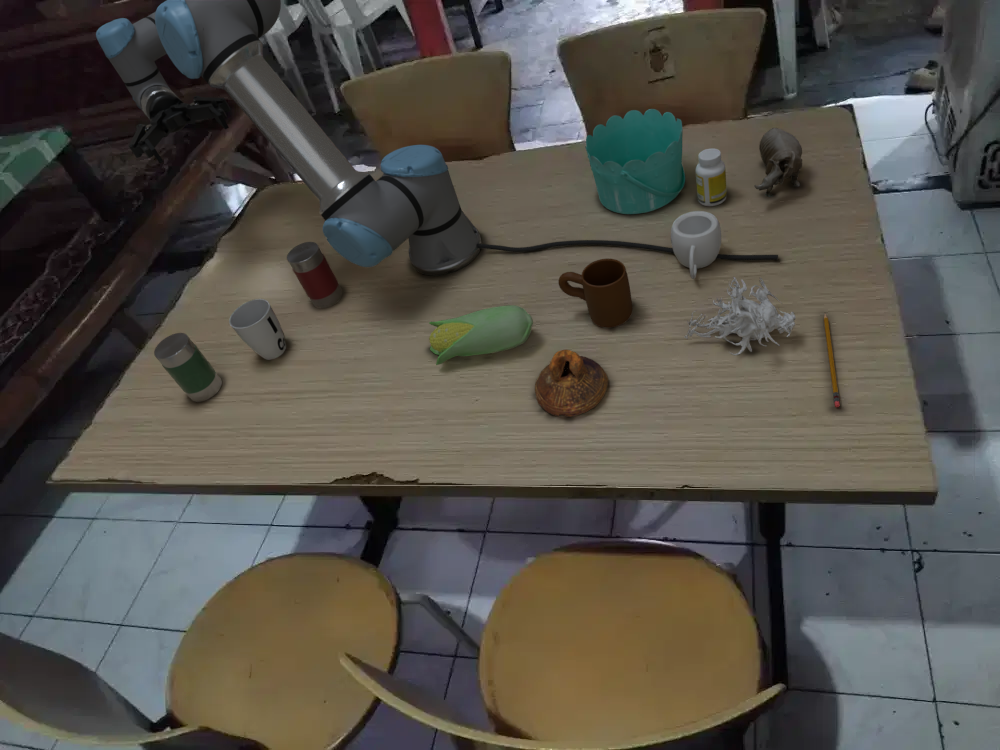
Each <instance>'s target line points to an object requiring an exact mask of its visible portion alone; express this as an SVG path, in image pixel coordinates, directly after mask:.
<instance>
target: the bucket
mask: <svg viewBox="0 0 1000 750" xmlns="http://www.w3.org/2000/svg"><path fill="white" fill-rule="evenodd" d="M683 131H684V129H683V121H682V119H681V118H678V117H677V118H676V116H675V115H674V114H673V113H672V112H670V111H666V112H664V113H663V114H661V112H660V111H659V110H658V109H656V108H648V109H647V110H646V111H645V112H644V114H643V113H642V112H641V111H639V110H637V109H632V110H629V111H627V112H626V113H625V114H624V117H622V116H620V115H616V114H615V115H614V114H613V115H611V116H610V117H609V118H608V120H607V121H606V124H605V125H604V124H603V123H602V124H601V123H599V124H597V125H596V126H595V127H594V128H593V131H592V134H587V136H586V137H585V147H584V148H585V151H586V155H587V158H588V162H589V165H590V170H591V172H592V175H593V176H592V177H593V180H594V183H595V188H596V191H597V194H598V198H599V202H600V204H601V205H602V206H603V207H604V208H606V209H607V210H609V211H611V212H614V213H618V214H622V215H638V214H639V215H640V214H646V213H649V212H652V211H655V210H658V209H660V208H662V207H664V206H667V205H668V204H670V203H671V202H672V201H674V199H676V198H677V197H678V195H679V194H680V192H681V191H682V190H683V189H684V187H685V184H686V174H685V169H684V165H683V135H684V134H683Z"/></svg>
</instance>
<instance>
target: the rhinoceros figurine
mask: <svg viewBox="0 0 1000 750" xmlns="http://www.w3.org/2000/svg"><path fill="white" fill-rule="evenodd" d="M758 145H759V146H758V148H759V153H760V157H761V160H762V162H763V164H764V166H765V173H764V174H765V175H766V176H764V178H763V180H762V181H761V183H760V184H759V185H756V184H755V185H754V188H755V189H756V190H758V191H759V192H760V191H766V192H765V193H766V194H765V193H764V196H766V197H768V198H772V197H774V194H773V193H772V191H773V189H774V186H776V185H778V184H780V185H781V186H782V185H783V183H784V182H785V179H788V178H790V184H793V185H792V187H801V183H800V182H799V180H798V178H799V175H800V170H802V169H803V159H802V154H803V148H802V145H801V143H800V141H799V140H798V138H797V137H796V135H795V136H794V134H792V133H790V132H788V131H786V130H784V129H782V128H779V127H771V128H770V129H769V130H767V131H765V133H764V134H763V136H762V137H761V138H760V141H759V144H758Z"/></svg>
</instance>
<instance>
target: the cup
mask: <svg viewBox="0 0 1000 750" xmlns="http://www.w3.org/2000/svg"><path fill="white" fill-rule="evenodd" d="M228 323H229V326H230V327H231V328H232V329H233V331H234V332H235V333H236V334H237V335H238V337H239V338H240V339H241V340H242V341H243V343H245V344H246V345H247V346H248V347H249V348H250V349H251V350H252V351H253V352H254V353H256V355H258V356H260V357H261V358H263V359H264V360H269V361H271V360H275V359H278V358H279V357H281V356H282V355H283V354H284V352H285V351H286V349H287V342H286V337H285V333H284V331H283V328H282V326H281V323H280V321H279V318H278V317H277V314H276V312H275V311H274V310H273V307H272V305H271V304H270V302H269V301H268V300H267V299H265V298H254V299H251V300H248V301H246V302H244V303H242V304H241V305H239V306H238V307H237V308H235V310H234V311H232V313H231V314H230V317H229V320H228Z"/></svg>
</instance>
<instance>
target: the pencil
mask: <svg viewBox="0 0 1000 750" xmlns="http://www.w3.org/2000/svg"><path fill="white" fill-rule="evenodd" d="M829 323H830V322H829V318H828V316H827V314H826V312H824V316H823V324H824V332H825V333H824V334H825V339H826V347H827V348H826V349H827V356H828V362H829V363H828V364H829V370H830V372H829V373H830V378H831V387H832V397H833V404H834V407H836V408H839V407H840V406H841V405H840V404H841V402H840V401H841V400H840V394H839V389H838V382H837V374H836V366H835V361H834V360H835V359H834V351H833V345H832V336H831V330H830V329H831V328H830V324H829Z"/></svg>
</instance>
